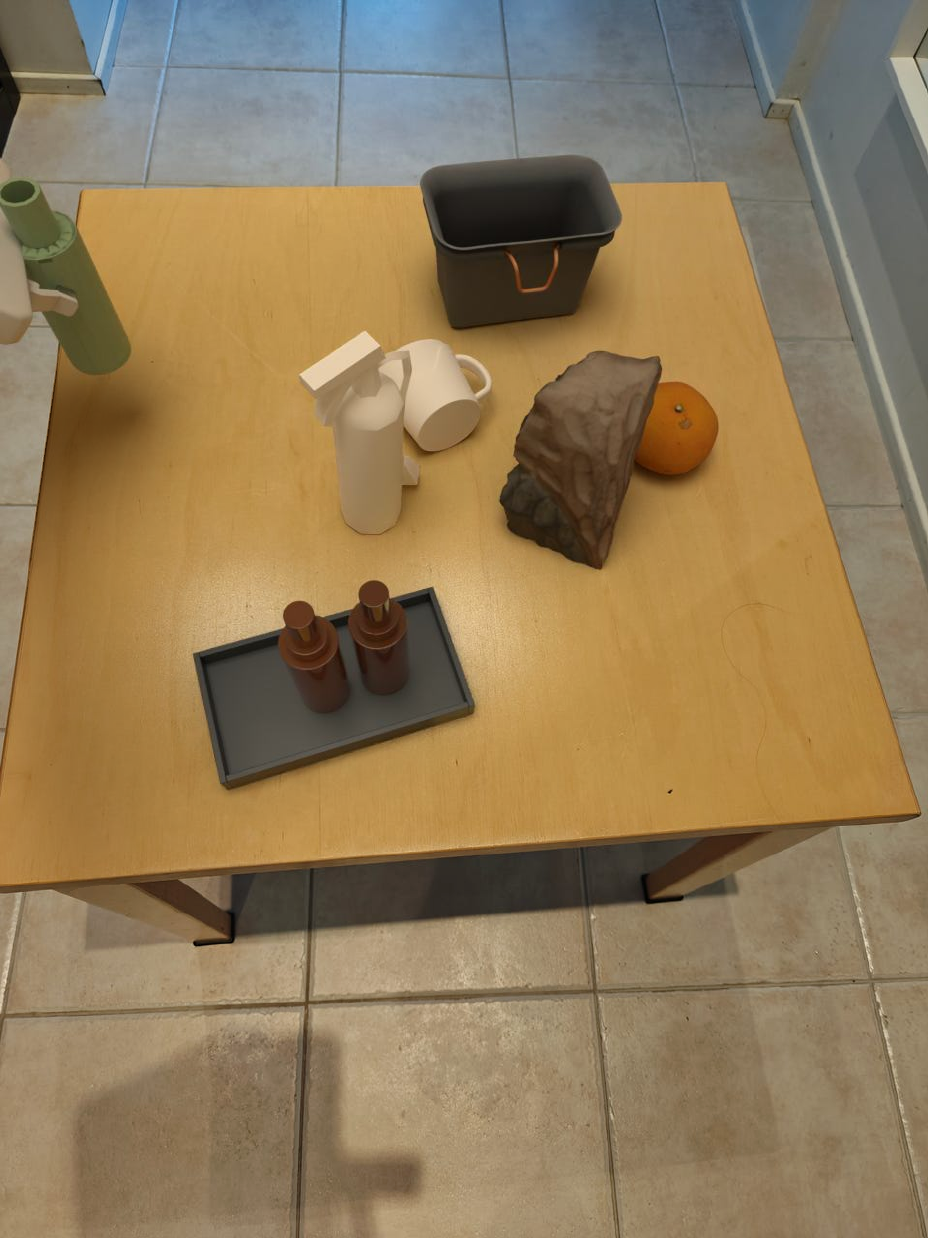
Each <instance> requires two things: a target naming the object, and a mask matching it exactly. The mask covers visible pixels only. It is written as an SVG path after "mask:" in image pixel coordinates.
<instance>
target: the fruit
mask: <svg viewBox="0 0 928 1238" xmlns="http://www.w3.org/2000/svg"><path fill="white" fill-rule="evenodd" d="M719 424H720V423H719V418H718V415H717V413H716V411H715V409H714V408H713V407H712V405H711V404H710V402H709V401H708V400H707V397H705V396H704V395H703V394H702V393H701V392H700V391H698V390H697V389H696V388H695V387H694V386H692V385H690V384H688V383H686V382H682V381H666V382H659V383H658V387H657V389H656V392H655V395H654V404H653V407H652V410H651V412H650V414H649V416H648V418H647V421H646V426H645V430H644V433H643V436H642V440H641V442H640V445H639V447H638V451H637V453H636V457H635V460H634V461H636V462H637V464H639V465H641V466H642V467H644V468H646V469H648V470H650V471H652V472H654V473H658V474H662V475H673V476H674V475H681V474H684V473H688V472H689V471H692V470H693V469H694V468H696V467H697V466H698V465H701V463H702V462H703V461H705V460H706V459H707V458H708V457H709V455H710V454H711V452H712V451H713V448H714V446H715V444H716V441H717V438H718V434H719Z"/></svg>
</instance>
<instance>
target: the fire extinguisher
mask: <svg viewBox="0 0 928 1238" xmlns="http://www.w3.org/2000/svg"><path fill="white" fill-rule="evenodd" d="M400 359H402V366H403V374H404V377H403V381H402V385H401V389H400V391H399V388H398V386H397V384H396V383H395V382H394V380H393V379H391V378H390V377H388V376H387V375H385V374H383V373H382V372H380V371H379V370H378V368H379V367H381V366H383V365H385V364H386V363H388V362H390V361H391V360H400ZM411 373H412V365H411V359H410V353H409V350H408V351H396V350H394V351H392V350H391V351H388V352H387V353H385V352H384V350H383V348H382V346H381V345H380V344H379V343H378V342H377V340H375V339H374V338H373V336H371V335H370V333H368V332H367V331H366V330H363V331H362V332H360V333H359V334H357V335H356V336H354V337H353V338H352V339H350V340H348V341H347V342H346V343H344V344H343V345H341V346H340V347H338V348H337V349H335V350H334V351H332V352H331V353H329V354H328V355H326V356H325V357H323V358H322V359H321V360H318V361H317V362H316V363H315V364H312V365H311V366H310V367H308V368H307V369H305V370H304V371H302V372H301V373H299V375H298V376H299V383H300V385H302V387H304V389H305V390H306V391H307V392H308V393H309V394H310V395H311V396H312V397H313V398H314V399H315V405H314V410H313V415H314V416H315V417H316V419H317V420H318V421H319V422H320V423H321V425H322V426H323V427H332V433H333V444H334V453H335V463H336V471H337V472H336V474H337V483H338V484H337V485H338V493H339V502H340V509H341V513H342V516H343V519H344V522H345V525H347V526H348V527H350V528H352V529H353V530H354V531H356V532H358V533H359V534H361V535H362V534H364V535H381V534H382V533H384V532H386V531H388V530H389V529H391V528H393V527H395V526H396V524H397V522H398V519H399V517H400V514H401V512H402V493H403V492H402V490H403V486H418V483H419V477H420V472H421V465H420V464H419V463H417V462H416V460H414V459H413V458H412V457H411V456H410V455H404V426H403V425H404V411H405V401H406V394H407V390H408V386H409V382H410V378H411Z"/></svg>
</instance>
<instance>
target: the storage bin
mask: <svg viewBox="0 0 928 1238" xmlns="http://www.w3.org/2000/svg"><path fill="white" fill-rule="evenodd" d="M419 186H420V190H421V194H422V205H423V207H424V211H425V215H426V219H427V222H428V227H429V231H430V234H431V239H432V241H433V245H434V248H435V260H436V261H435V263H436V277H437V284H438V287H439V290H440V295H441V298H442V301H443V305H444V309H445V313H446V315H447V316H446V317H447V320H448V324H449V325H450V326H451V327H453V328H466V327H473V326H481V325H489V324H495V323H505V322H513V321H521V320H529V319H538V318H546V317H555V316H556V317H557V316H563V315H564V316H565V315H571V314H574V313H576V312H577V310H578V308H579V306H580V304H581V300H582V297H583V296H584V292H585V290H586V287H587V284H588V281H589V279H590V276H591V274H592V271H593V268H594V265H595V263H596V261H597V257H598V255H599V252H600V249H601V248H603V247H605V246H607V245H609V244H610V243H611V242H612V241H613V239H614V237H615V234H616V230H618V228H620V226H621V224H622V222H623V214H622V210H621V208H620V206H619V203H618V202H617V199H616V196H615V193H614V191H613V189H612V186H611V184H610V182H609V179H608V177H607V173H606V172H605V170H604V168H603V167H602V165H601V164H600V163H599V162H598V161H597V160H595V159H594V158H590V157H588V156H586V155H581V154H563V155H562V154H561V155H547V156H533V157H522V158H521V157H520V158H508V159H495V160H485V161H484V160H483V161H473V162H463V163H462V162H461V163H453V164H452V163H451V164H443V165H437V166H434V167H431V168H429V169H427V170H426V171H425V172H424V173H423V174H422V175H421V178H420V181H419Z"/></svg>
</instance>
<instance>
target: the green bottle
mask: <svg viewBox="0 0 928 1238" xmlns="http://www.w3.org/2000/svg"><path fill="white" fill-rule="evenodd" d="M11 178H12V179H8V180H7V181H5V182H3V183H1V184H0V207H1V209H2V211H3V212H4V214H5V216H6V218H7V220H8V222H9V223H10V225H11V227H12V229H13V231H14V232H15V234H16V236H17V238H18V240H19V241H20V242H21V245H22V251H23V258H24V261H25V267H26V274H27V279H29V280H31V281H34V282H36V283H38V284H39V287H40V288H39V289H48V290H55V288H56V286H57V285H61V286H63V287H65V288H67V289H68V290H73V291H75V293H76V295H77V300H78V305H79V307H78V309H77V310H76V312H75V313H74V315H73V316H65V315H63V314H60V313H57V312H55V311H52V310H51V311H43V312H41V313H42V315H43V317H44V319H45V320H46V322H47V324H48V326H49V327H50V329H51V331H52V332H53V333H52V334H54V336H55V338H56V340H57V341H58V343H59V346H61V348H62V350H63V352H64V353H65V355H66V357H67V359H68V360H69V361H70V364H71V365H72V366H73V367H74V368H75V369H76V370H77V371H78V372H81V373H82V374H85V375H88V376H104V375H108V374H112V373H114V372H117V371H118V370H119V369H121V368H122V367H124V366H125V365H126V363H127V362H128V361H129V359H130V356H131V353H132V345H131V342H130V340H129V336H128V334H127V331H126V330H125V328H124V326H123V324H122V322H121V321H122V320H121V319H120V317H119V315H118V312H117V311H116V308H115V306H114V304H113V301H112V300H111V298H110V295H109V293H108V291H107V289H106V287H105V285H104V282H103V281H102V278H101V276H100V273H99V272H98V270H97V267H96V265H95V263H94V261H93V259H92V257H91V254H90V252H89V250H88V247H87V246H86V243H85V242H84V239H83V237H82V235H81V233H80V231H79V228H78V226H77V224H76V222H75V221H74V220H73V219H72V218H71V217H70V216H69V215H68V214H66V213H63V212H61V211H59V210H54V209H52V208H51V206H50V203H49V202H48V200H47V198H46V196H45V194H44V191H43V190H42V188H41V186H40V184H39V182H37V181H35V179H33V178H29V177H25V176H19V177H11Z"/></svg>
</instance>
